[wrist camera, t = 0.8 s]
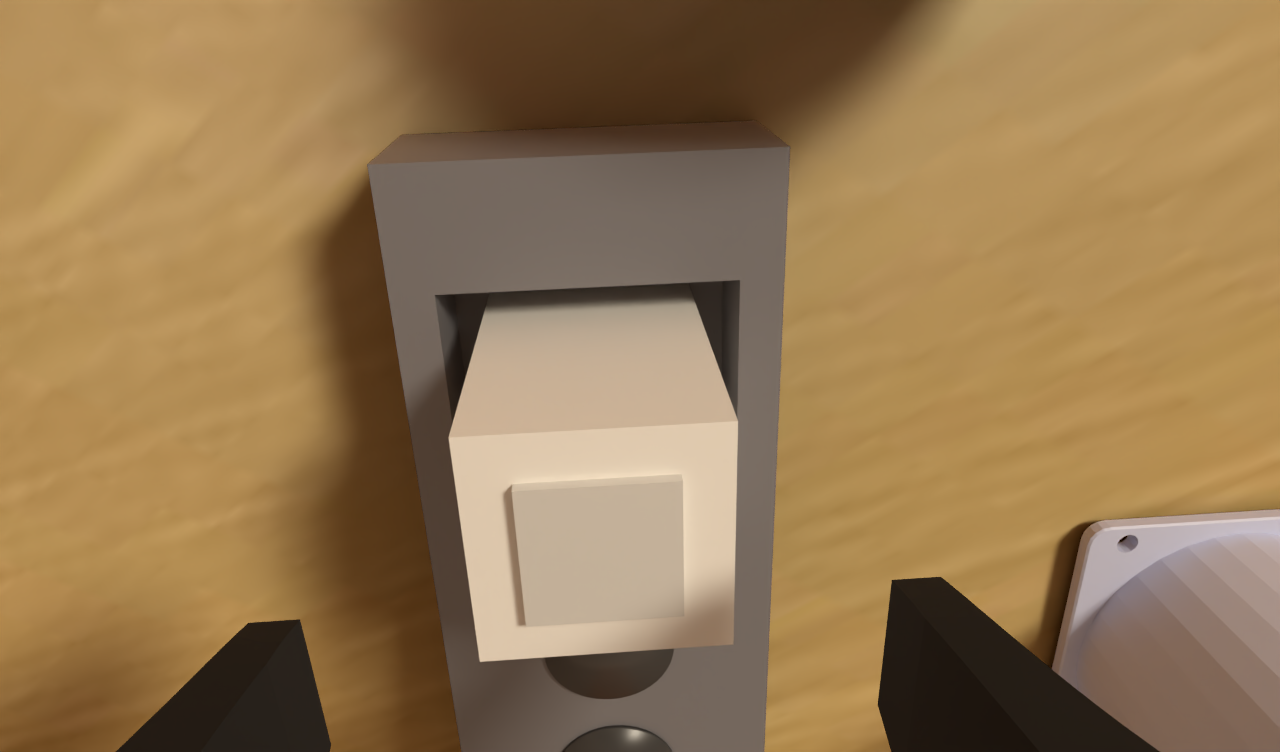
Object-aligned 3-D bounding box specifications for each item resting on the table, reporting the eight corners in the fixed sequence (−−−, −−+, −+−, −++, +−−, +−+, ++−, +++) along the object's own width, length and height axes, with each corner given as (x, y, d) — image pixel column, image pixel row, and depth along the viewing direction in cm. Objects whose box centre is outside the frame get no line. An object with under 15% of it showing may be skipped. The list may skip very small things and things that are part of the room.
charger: (687, 283, 17) (740, 427, 12) (689, 455, 19) (735, 653, 13) (489, 293, 17) (446, 444, 12) (507, 466, 19) (478, 670, 13)
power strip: (756, 120, 17) (796, 152, 14) (739, 768, 25) (763, 884, 22) (401, 134, 17) (360, 170, 14) (494, 786, 24) (481, 907, 21)
